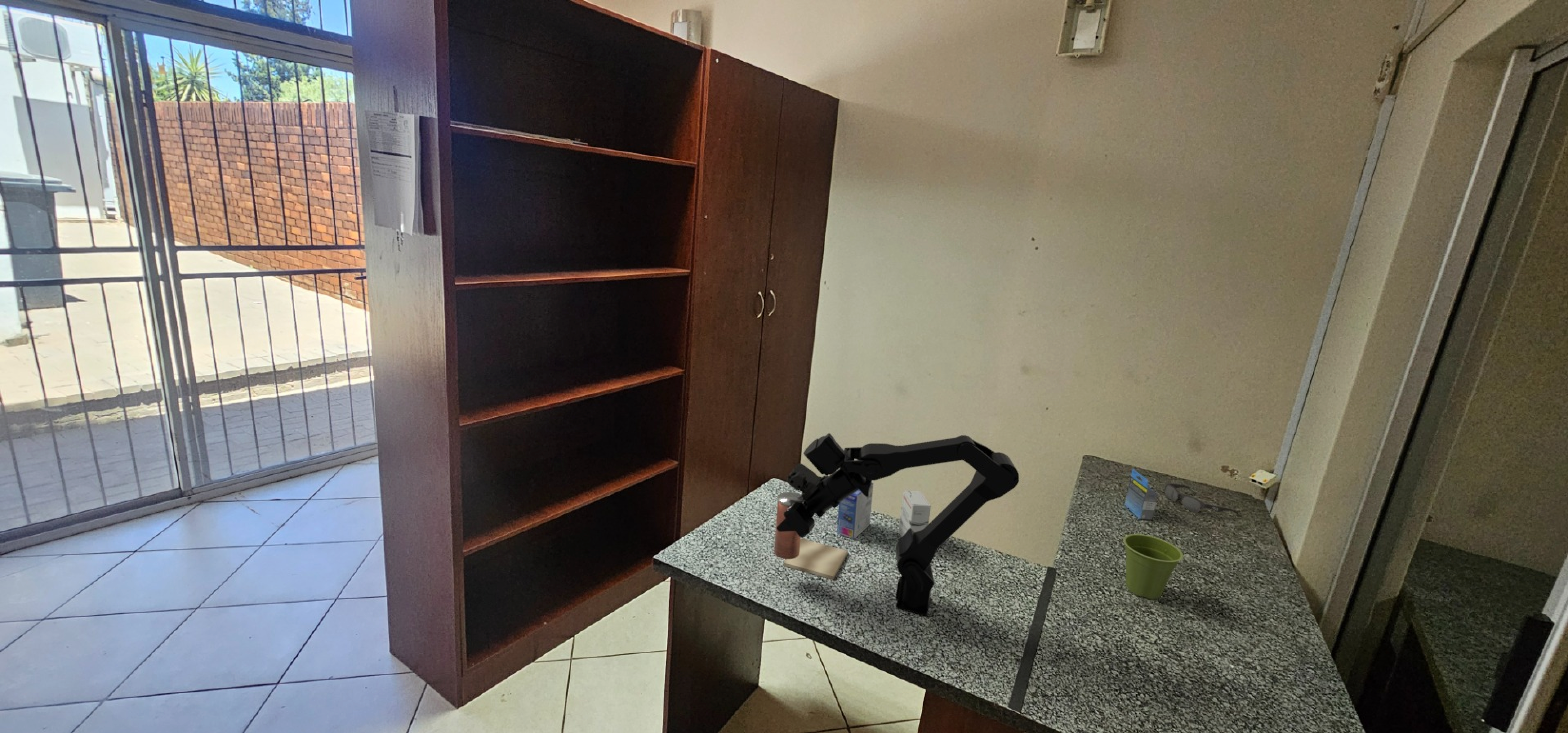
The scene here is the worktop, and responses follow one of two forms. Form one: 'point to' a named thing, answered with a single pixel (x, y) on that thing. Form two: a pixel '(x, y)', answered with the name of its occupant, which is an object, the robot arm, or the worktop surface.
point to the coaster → (818, 559)
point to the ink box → (913, 512)
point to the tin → (787, 540)
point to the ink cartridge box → (854, 514)
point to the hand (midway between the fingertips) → (782, 523)
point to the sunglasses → (1190, 499)
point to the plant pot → (1149, 564)
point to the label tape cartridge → (1140, 497)
